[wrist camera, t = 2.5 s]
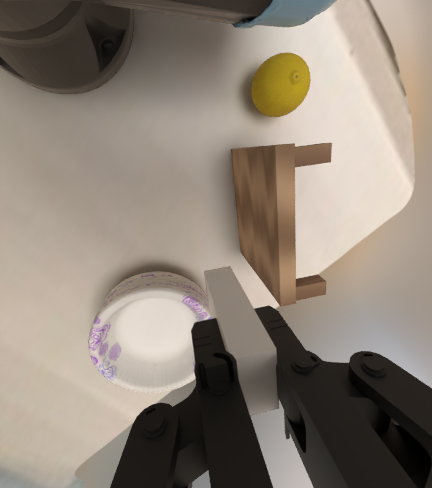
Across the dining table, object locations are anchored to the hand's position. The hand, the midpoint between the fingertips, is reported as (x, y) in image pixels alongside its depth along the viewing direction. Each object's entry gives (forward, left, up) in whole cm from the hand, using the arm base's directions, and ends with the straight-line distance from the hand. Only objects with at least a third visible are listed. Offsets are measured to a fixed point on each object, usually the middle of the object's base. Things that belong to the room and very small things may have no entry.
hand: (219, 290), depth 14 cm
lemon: (-13, +11, -21) cm, 26 cm away
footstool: (0, +9, -20) cm, 22 cm away
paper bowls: (+13, -7, -21) cm, 25 cm away
